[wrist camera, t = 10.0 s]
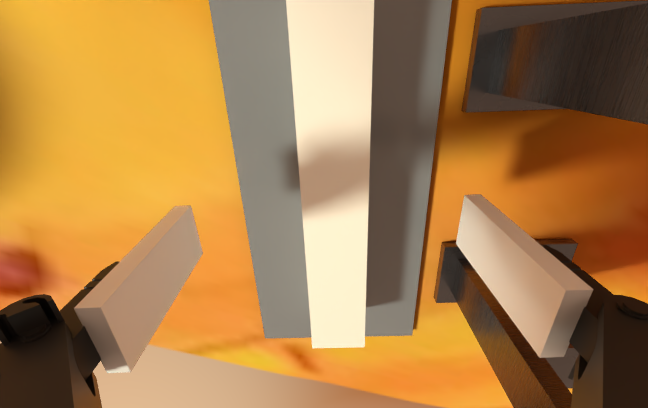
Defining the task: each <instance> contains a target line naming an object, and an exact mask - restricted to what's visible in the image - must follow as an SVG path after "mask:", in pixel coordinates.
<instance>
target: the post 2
mask: <svg viewBox="0 0 648 408" xmlns="http://www.w3.org/2000/svg"><path fill="white" fill-rule="evenodd" d="M544 109H572V110H577V111H582V112H587V113H592V114H597V115H603V116H608V117H613V118H618V119H623V120H628V121H633V122H638V123H643V124H648V0H646V1H624V2H602V3H579V4H557V5H535V6H513V7H490V8H480V9H477V12H476V18H475V25H474V32H473V38H472V45H471V52H470V58H469V65H468V72H467V78H466V85H465V92H464V98H463V105H462V111H463V112H490V111H517V110H544Z"/></svg>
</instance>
